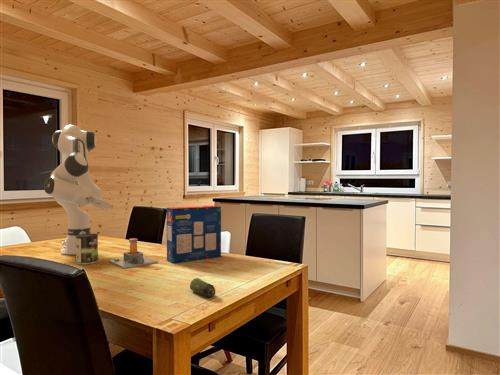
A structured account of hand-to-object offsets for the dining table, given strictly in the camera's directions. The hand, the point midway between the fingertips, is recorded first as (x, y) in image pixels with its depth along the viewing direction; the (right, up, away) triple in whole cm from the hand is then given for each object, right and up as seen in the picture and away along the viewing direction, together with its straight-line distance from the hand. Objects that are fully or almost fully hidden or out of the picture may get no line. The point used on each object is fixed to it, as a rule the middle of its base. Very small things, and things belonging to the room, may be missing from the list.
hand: (107, 204), depth 172 cm
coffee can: (-13, -30, +6) cm, 33 cm away
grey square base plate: (+11, -30, +5) cm, 33 cm away
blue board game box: (+41, -30, +14) cm, 53 cm away
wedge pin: (+11, -29, +5) cm, 32 cm away
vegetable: (+54, -31, -45) cm, 77 cm away
